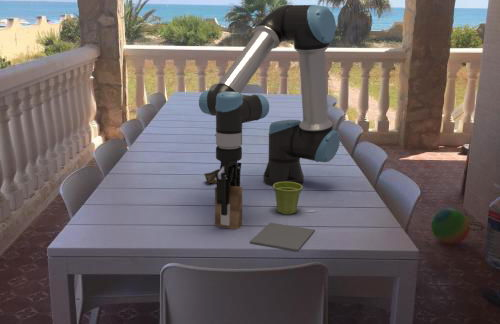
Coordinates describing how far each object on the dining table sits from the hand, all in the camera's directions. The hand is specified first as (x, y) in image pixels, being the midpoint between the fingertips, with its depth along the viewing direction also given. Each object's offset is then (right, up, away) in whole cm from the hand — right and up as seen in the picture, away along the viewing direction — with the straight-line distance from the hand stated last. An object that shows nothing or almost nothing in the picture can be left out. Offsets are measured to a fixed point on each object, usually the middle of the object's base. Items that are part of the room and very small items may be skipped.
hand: (228, 221), depth 177 cm
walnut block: (0, -1, 0) cm, 1 cm away
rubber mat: (+16, -4, -8) cm, 18 cm away
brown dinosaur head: (-6, +10, +42) cm, 43 cm away
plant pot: (+18, +2, +13) cm, 23 cm away
